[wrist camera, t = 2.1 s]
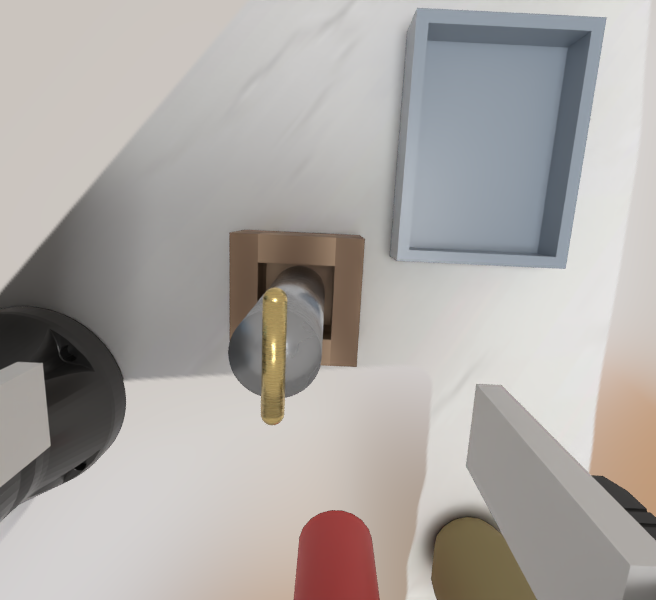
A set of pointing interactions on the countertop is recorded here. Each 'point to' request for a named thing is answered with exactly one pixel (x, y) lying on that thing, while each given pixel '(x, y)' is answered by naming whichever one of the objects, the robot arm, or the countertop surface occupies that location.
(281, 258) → the block
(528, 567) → the robot arm
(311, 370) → the steel pin
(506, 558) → the squeeze bottle
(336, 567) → the beer can
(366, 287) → the countertop surface
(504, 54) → the tray
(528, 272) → the countertop surface
